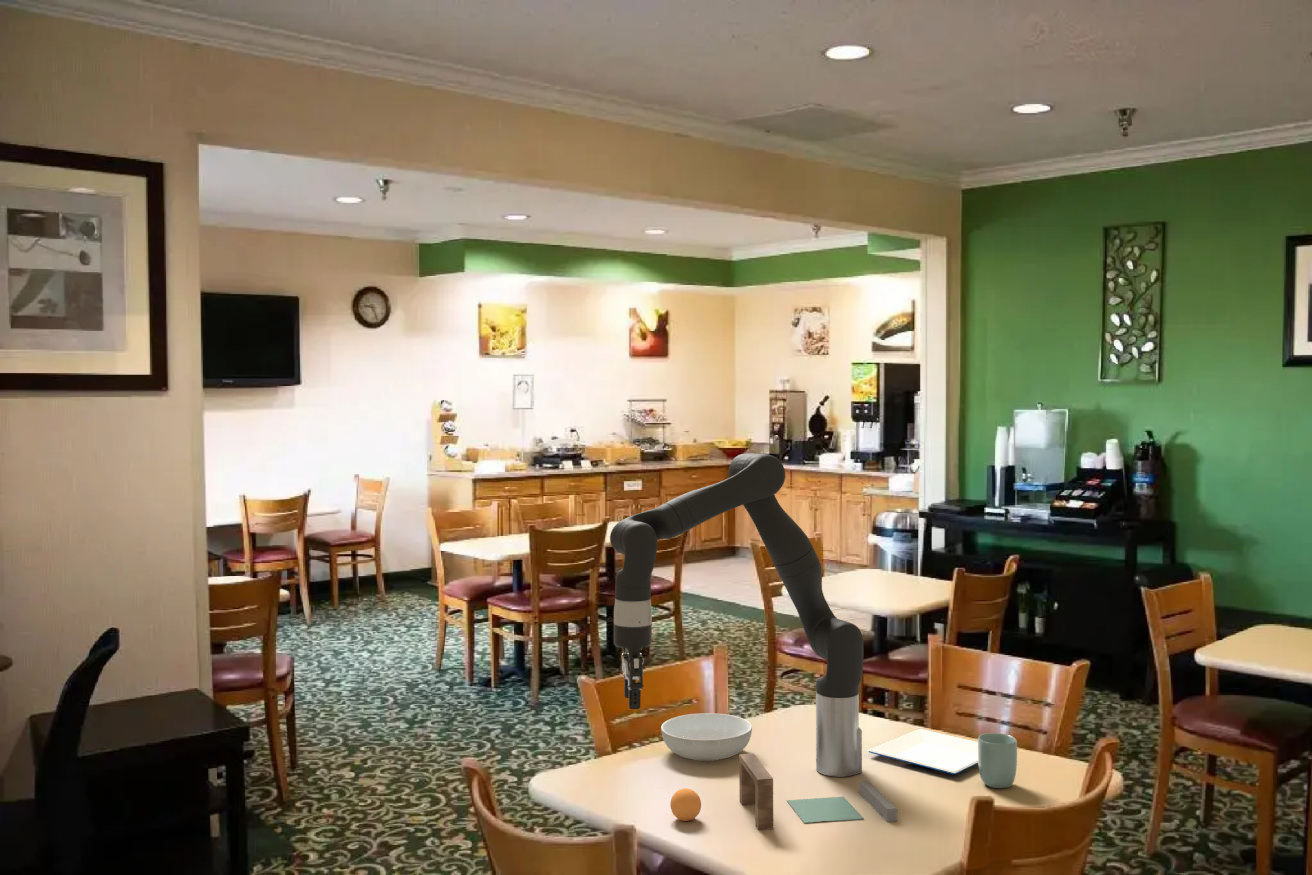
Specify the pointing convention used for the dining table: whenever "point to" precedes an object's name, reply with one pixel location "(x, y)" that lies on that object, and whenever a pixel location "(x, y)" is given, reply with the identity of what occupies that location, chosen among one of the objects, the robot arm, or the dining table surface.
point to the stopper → (878, 800)
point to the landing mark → (824, 809)
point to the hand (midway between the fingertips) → (632, 702)
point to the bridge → (756, 789)
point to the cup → (997, 759)
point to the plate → (931, 751)
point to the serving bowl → (706, 735)
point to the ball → (685, 804)
